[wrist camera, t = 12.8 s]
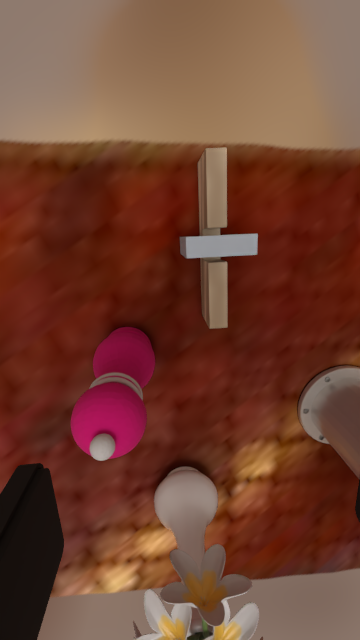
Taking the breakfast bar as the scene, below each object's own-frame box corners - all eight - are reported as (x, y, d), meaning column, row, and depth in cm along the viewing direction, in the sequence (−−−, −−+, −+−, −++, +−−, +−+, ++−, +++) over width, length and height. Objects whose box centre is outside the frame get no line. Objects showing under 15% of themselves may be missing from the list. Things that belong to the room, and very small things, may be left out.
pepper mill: (90, 335, 39) (24, 434, 19) (141, 314, 38) (125, 392, 19) (115, 381, 41) (77, 512, 21) (164, 361, 40) (169, 474, 21)
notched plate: (236, 250, 37) (257, 254, 29) (180, 253, 37) (186, 258, 29) (236, 234, 36) (257, 233, 29) (179, 236, 36) (185, 237, 28)
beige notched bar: (214, 162, 34) (226, 147, 28) (217, 313, 39) (227, 327, 33) (197, 163, 34) (205, 148, 28) (202, 314, 39) (209, 328, 33)
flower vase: (214, 420, 43) (283, 648, 19) (229, 515, 48) (299, 789, 24) (126, 437, 43) (86, 690, 19) (151, 531, 48) (144, 824, 24)
